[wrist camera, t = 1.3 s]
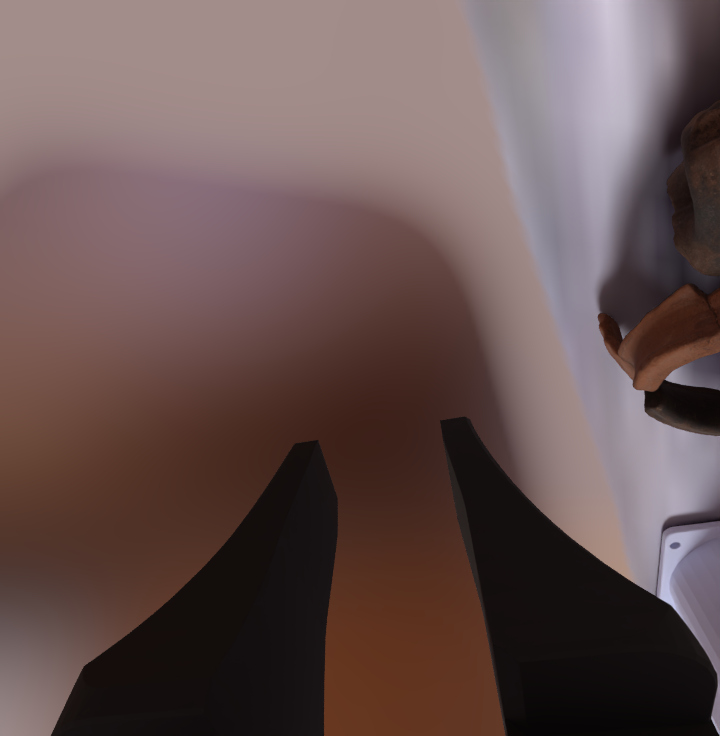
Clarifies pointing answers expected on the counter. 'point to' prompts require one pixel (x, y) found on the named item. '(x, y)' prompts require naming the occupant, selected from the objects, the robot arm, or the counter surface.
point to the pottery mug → (682, 293)
